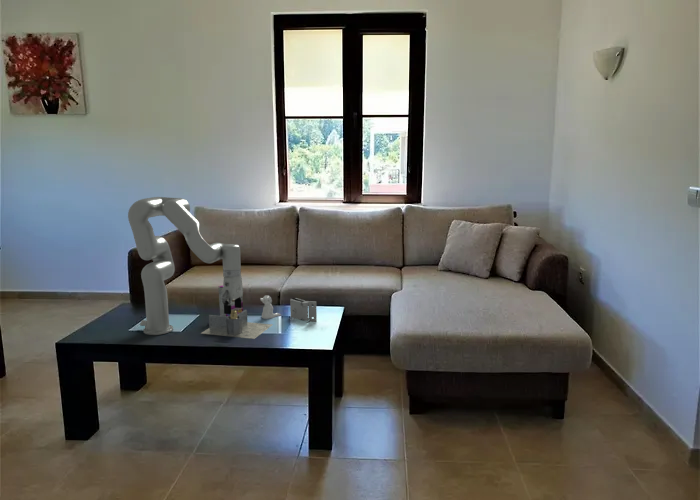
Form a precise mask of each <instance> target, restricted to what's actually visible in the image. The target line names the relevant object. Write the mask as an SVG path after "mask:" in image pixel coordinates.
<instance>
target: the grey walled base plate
mask: <svg viewBox="0 0 700 500" xmlns="http://www.w3.org/2000/svg"><path fill="white" fill-rule="evenodd" d="M237 317H238V318H237V319H231V317H230V316H220V315H215V314H214V315H213V314H208V325H209V326H208V328H207V329H205V330H204V331H202V332H200V334H203V335H212V336H213V335H214V336H221V337H222V336H224V337H231V338H241V339H253V340H255V339H256V338H257V337H259V336H261V335H262V333H264V332H266V331H267V330H268V329H269V328H271V327H272V326H273V325H274V324H272V323H271V324H270V323H259V322H252V321H251V322H250V321H248V310H247V309H243V311H242V312H241V313H239V314H238V315H237Z"/></svg>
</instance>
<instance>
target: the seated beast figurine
mask: <svg viewBox="0 0 700 500" xmlns="http://www.w3.org/2000/svg"><path fill="white" fill-rule="evenodd" d="M259 299H260V302H262V304H264V305H263V307H262V313H261V318H262V319H263V320H270V319H273V318H276V317H281V316H282V314H281V313H279V312H276V313H274V307H273V305H272V302H273V300H272V297H271V296H270V295H269V294H268V295H264V296H263V297H260V298H259Z"/></svg>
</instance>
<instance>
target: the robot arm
mask: <svg viewBox="0 0 700 500" xmlns="http://www.w3.org/2000/svg"><path fill="white" fill-rule="evenodd" d="M159 216H163V217H165V218H167V220H168V221H169V222H170V223H171V224H173V226H174V227H175V228H176V229H177V230H178V231H179V232H180V233H181V234H182V235H183V236H184V238H185V241H186V244H187V245H188V247H189V249H190V251H192V253H193V254H194V255H195V256H196V257H197V258H198V259H200V260H201V261H202V262H203V263H206V264H213V263H215V262H217V261H220V260H222V276H223V281H222V283H223V284H222V285H223V296H222V301H223V305H224V314H231V305H230V304H231V300H235V308H242V299H243V295H244V291H243V290H244V287H243V279H242V273H241V272H242V270H241V269H242V266H241V246H240V245H239V244H236V243H223V242H213V243H211V244H210V243H208V242H207V241H206V240H205V239H204V238H203V236H202V235H201V233H200V221H199V220H198V219H197V218H196V217H195V216H194V215H192V213H191V206H190V203H189V202H188V201H187V199H184V198H181V197H168V196H167V197H164V196H153V197H146V198H141V199H138V200H137V201H135V202H134V203H133V204H132V205H131V206H130V207H129V209H128V212H127V219H128V222H129V226H130V227H131V231H132V234H133V238H134V239H133V240H134V242H135V243H134V244H135V246H136V251H137V253H138V255H139V257H140V258H141V259H142V260H144V261H150V260H152V261H153V262H152V261H151V262H150V263H148V264H146V265H145V266H144V267H143V268H142V270H141V273H140V275H141V276H140V277H141V282H142V286H143V291H144V302H145V303H144V305H145V317H146V319H143V320H140V323H139V325H140V326H142V327H144V328H143V334H145V335H148V336H159V335H164V334H168V333H171V332H172V331H174V327H173V325H171V324H170V317H169V316H170V315H169V302H168V301H169V300H168V289H167V286H166V283H165V281H166V280H168V279H170V278H171V277H172V276H174V274H175V271H176V269H175V268H176V267H175V263H174V259H173V256H172V251H171V248H170V245H169V243H168V241H167V240H166V239H165V238H164V237H162V236H159V235H155V233H154V231H155V230H154V227H153V226H152V224H151V222H150V221H149V219H150V218H155V217H159ZM227 300H229V302H228V301H227Z"/></svg>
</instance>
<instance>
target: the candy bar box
mask: <svg viewBox="0 0 700 500" xmlns="http://www.w3.org/2000/svg"><path fill="white" fill-rule="evenodd" d="M217 288H218V303H219V314H220V315H219V316H230V314H224V305H223V301H222V296H223V284H222V285H219V286H218V287H217ZM243 299H244V298H242V308H235V300H231V304H230V305H231V310H237V315H238V314H239V313H241V312H242V311H244V300H243ZM227 301H228V302H229V300H227Z"/></svg>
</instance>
